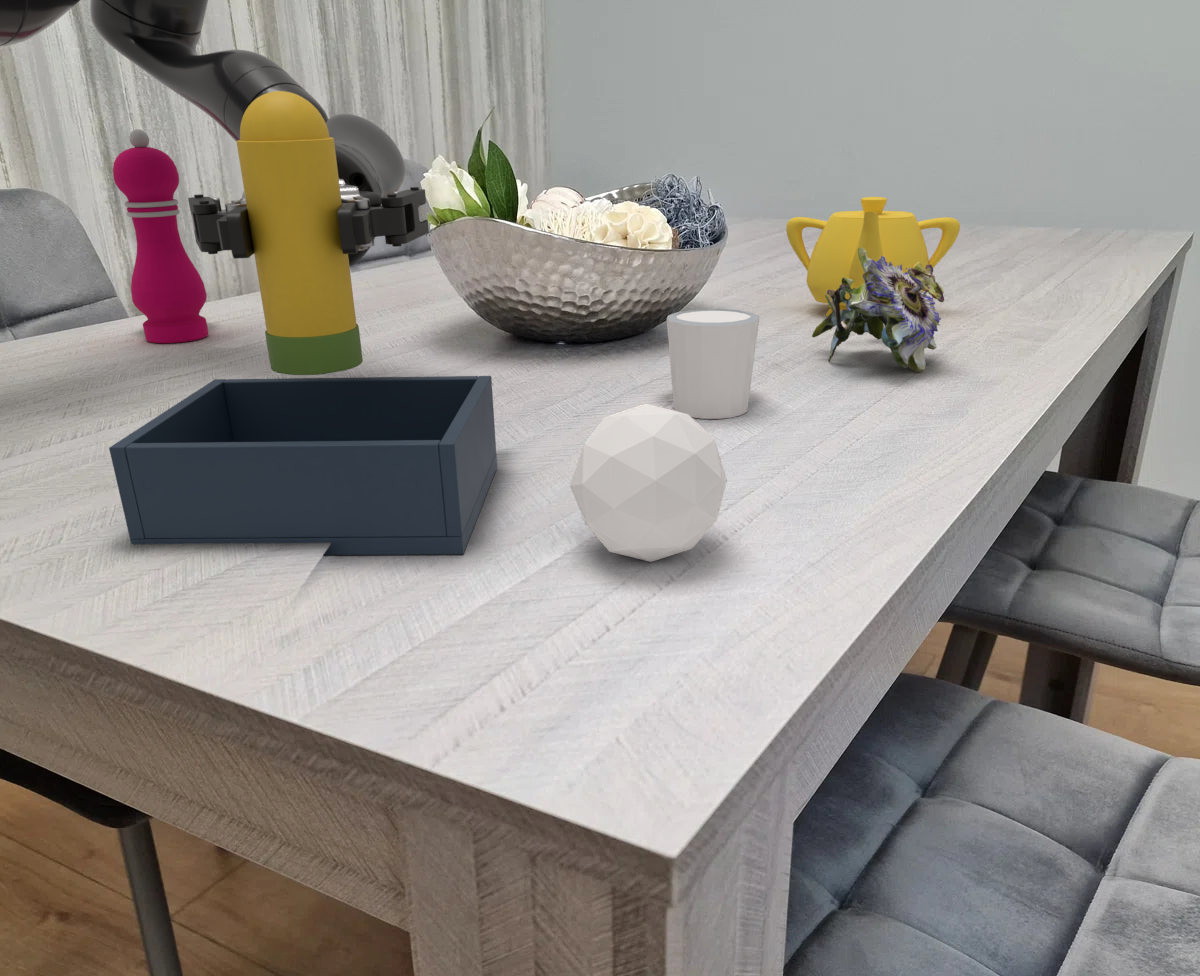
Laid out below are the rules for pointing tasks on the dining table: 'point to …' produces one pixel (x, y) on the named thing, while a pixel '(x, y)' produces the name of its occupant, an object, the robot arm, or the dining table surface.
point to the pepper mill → (159, 246)
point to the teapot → (865, 244)
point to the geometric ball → (649, 482)
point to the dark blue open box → (314, 464)
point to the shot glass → (712, 361)
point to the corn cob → (298, 236)
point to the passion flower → (888, 309)
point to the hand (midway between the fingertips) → (291, 234)
